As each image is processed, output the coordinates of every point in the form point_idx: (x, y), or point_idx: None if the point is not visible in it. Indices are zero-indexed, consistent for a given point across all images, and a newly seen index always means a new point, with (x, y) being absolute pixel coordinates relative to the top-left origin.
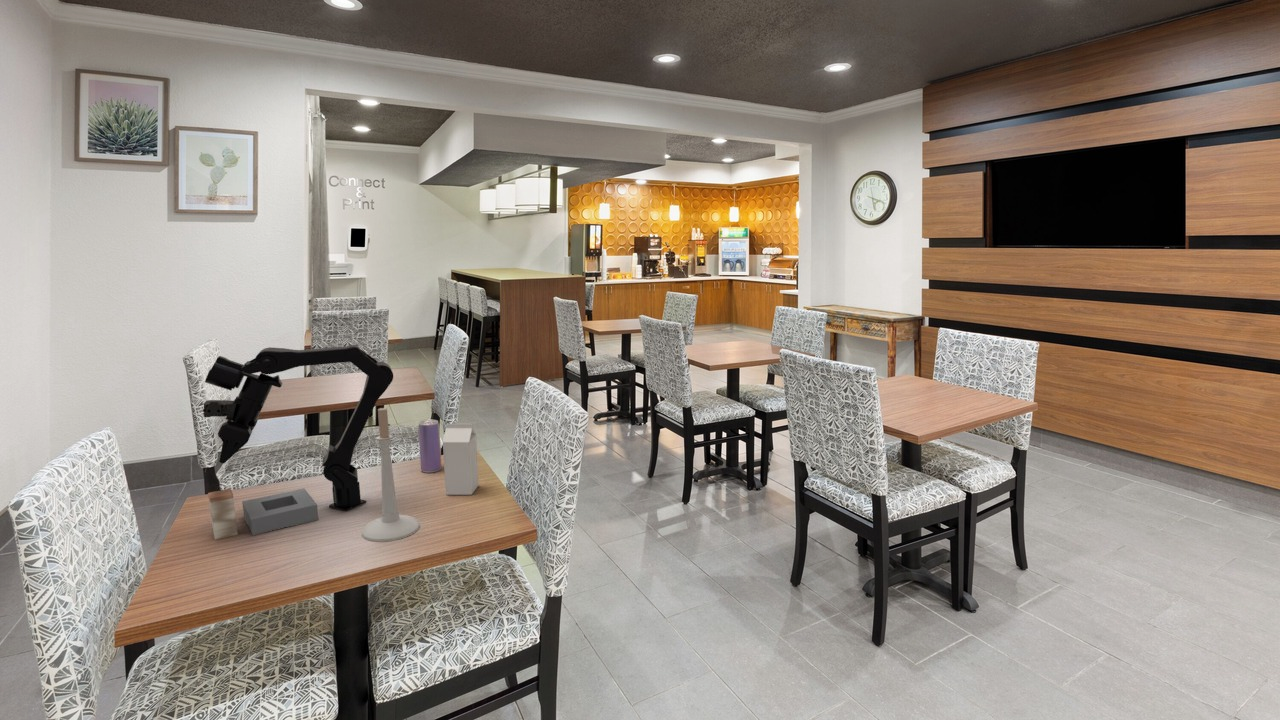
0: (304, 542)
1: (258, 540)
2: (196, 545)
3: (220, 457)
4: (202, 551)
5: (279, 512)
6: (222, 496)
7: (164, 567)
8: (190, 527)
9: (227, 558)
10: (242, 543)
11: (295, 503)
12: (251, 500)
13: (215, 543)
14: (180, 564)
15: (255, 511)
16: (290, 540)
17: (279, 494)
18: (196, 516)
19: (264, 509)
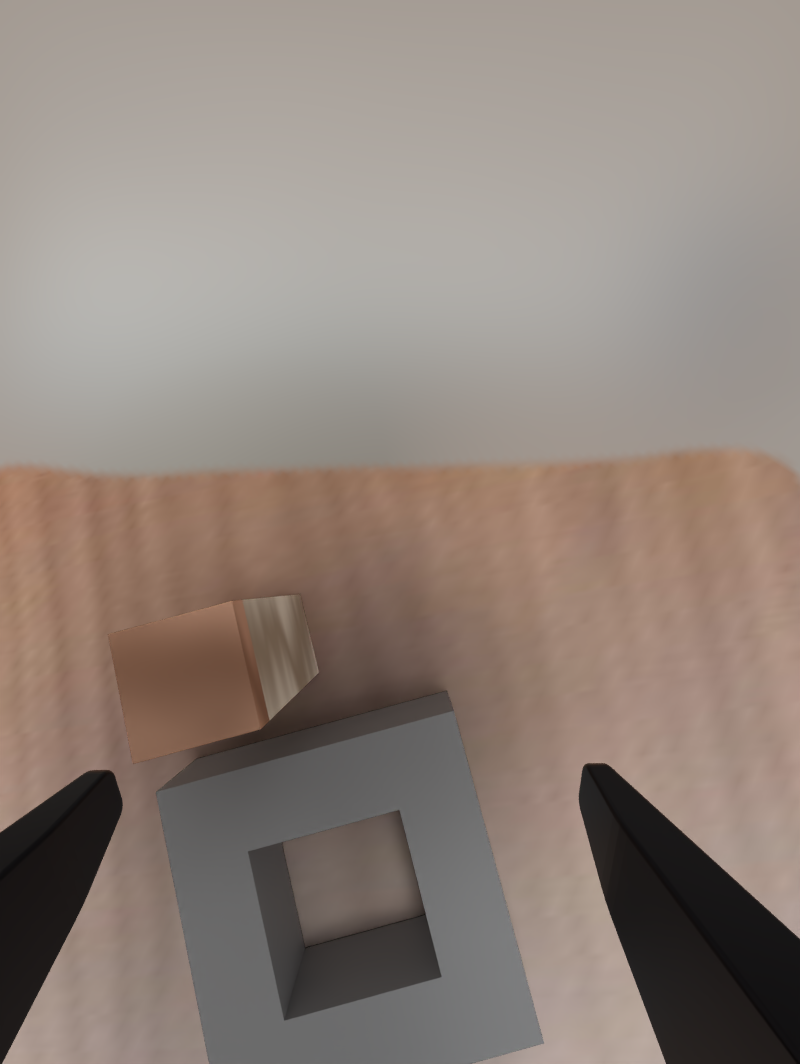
0: None
1: (133, 786)
2: (197, 555)
3: (14, 824)
4: (125, 588)
5: (188, 926)
6: (123, 701)
7: (40, 488)
8: (409, 494)
9: (8, 691)
10: None
11: (368, 976)
12: (449, 757)
13: None
14: (39, 535)
15: (263, 799)
16: None
17: (489, 901)
18: (536, 492)
19: (271, 842)
